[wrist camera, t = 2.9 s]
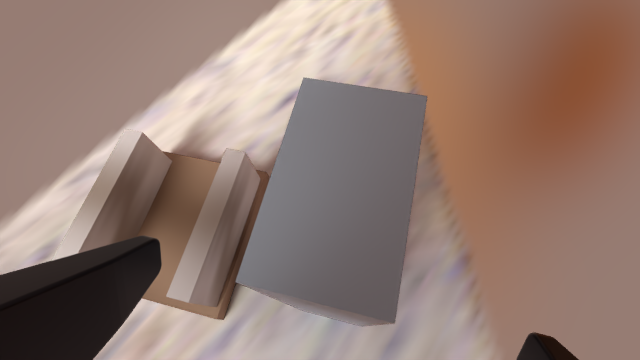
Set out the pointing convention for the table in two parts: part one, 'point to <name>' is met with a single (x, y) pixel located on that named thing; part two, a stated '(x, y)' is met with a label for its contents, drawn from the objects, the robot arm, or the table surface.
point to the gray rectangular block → (339, 203)
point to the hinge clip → (175, 218)
